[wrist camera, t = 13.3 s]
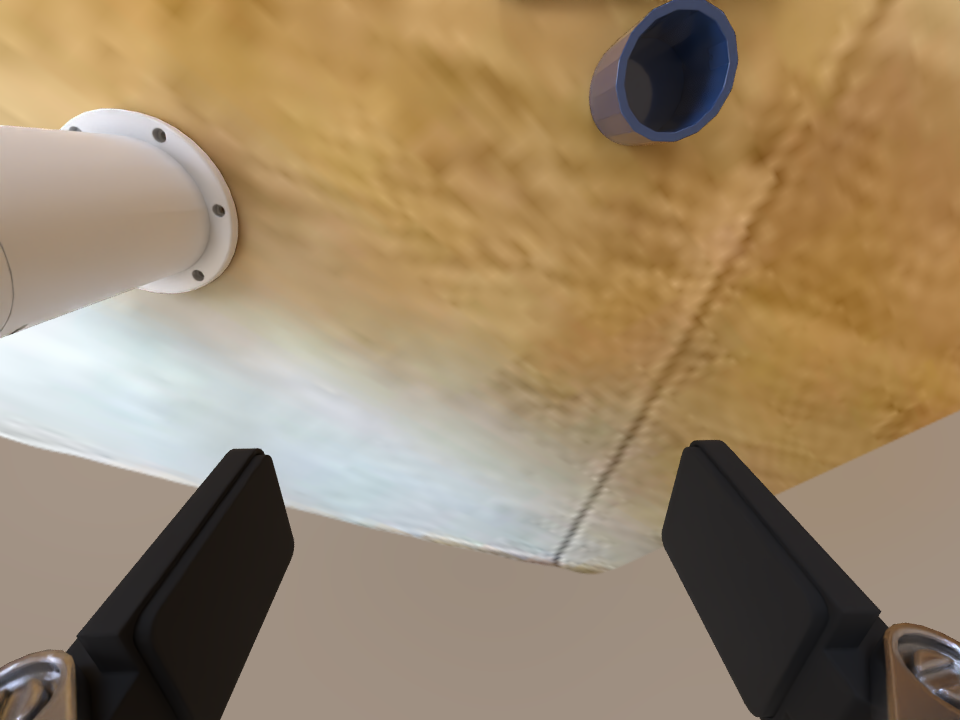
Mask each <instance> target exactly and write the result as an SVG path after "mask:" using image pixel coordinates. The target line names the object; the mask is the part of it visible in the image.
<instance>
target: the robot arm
mask: <svg viewBox="0 0 960 720" xmlns="http://www.w3.org/2000/svg"><path fill="white" fill-rule="evenodd" d="M165 134H166V137H165ZM222 207H223V208H224V210H225V213H224V212H223V210H222ZM237 240H238V219H237V213H236V208H235V204H234V201H233V198H232V195H231V193H230V190H229V187H228V186H227V184H226V182H225V180H224V178H223V176H222V175H221V173H220V171H219V170H218V168H217V167H216V166H215V164H214V163H213V162H212V160H211V159H210V158H209V156H208V155H207V154H206V153H205V152H204V151H203V150H202V149H201V148H200V147H199V146H198V145H197V144H196V143H195V142H194V141H193V140H192V139H190V138H189V137H188V136H186V135H185V134H184V133H182V132H181V131H179V130H178V129H177V128H175V127H173V126H171V125H170V124H168V123H166V122H164V121H162V120H160V119H158V118H155V117H152V116H149V115H146V114H143V113H140V112H135V111H129V110H123V109H97V110H92V111H88V112H84V113H82V114H80V115H78V116H76V117H74V118H72V119H70V120H69V121H68V122H67V123H66V124H65V125H64V126H63V127H62V128H61V129H60V130H54V129H42V128H30V127H18V126H7V125H0V338H2V337H5V336H8V335H10V334H13V333H16V332H19V331H21V330H24V329H27V328H29V327H32V326H35V325H37V324H40V323H43V322H46V321H48V320H51V319H54V318H56V317H59V316H62V315H65V314H67V313H70V312H73V311H75V310H78V309H81V308H84V307H86V306H89V305H92V304H94V303H97V302H100V301H102V300H105V299H108V298H111V297H113V296H116V295H119V294H121V293H124V292H127V291H130V290H132V289H135V288H138V289H142V290H145V291H149V292H153V293H163V294H176V293H185V292H189V291H192V290H195V289H198V288H200V287H202V286H205V285H207V284H209V283H210V282H212V281H213V280H215V279H216V278H217V277H219V276H220V275H221V274H222V273H223V271H224V270H225V269H226V268H227V267H228V265H229V263H230V261H231V259H232V257H233V255H234V253H235V249H236V245H237ZM662 542H663V545H664V548H665V550H666V552H667V554H668V556H669V558H670V560H671V562H672V563H673V565H674V567H675V569H676V571H677V573H678V575H679V577H680V579H681V581H682V582H683V585H684V587H685V589H686V591H687V593H688V594H689V596H690V598H691V600H692V602H693V604H694V606H695V608H696V610H697V612H698V613H699V616H700V618H701V620H702V621H703V624H704V625H705V627H706V629H707V631H708V633H709V635H710V637H711V639H712V641H713V643H714V645H715V647H716V649H717V651H718V652H719V655H720V656H721V658H722V660H723V662H724V664H725V666H726V668H727V670H728V672H729V674H730V676H731V678H732V680H733V681H734V684H735V685H736V687H737V689H738V691H739V693H740V695H741V697H742V699H743V701H744V703H745V704H746V706H747V708H748V710H749V711H750V712H751V713H752V714H753V715H754V716H756V717H760V719H761V720H960V642H958V641H956V640H954V639H953V638H951V637H949V636H947V635H945V634H943V633H941V632H938V631H935V630H933V629H930V628H927V627H925V626H922V625H916V624H910V623H901V624H893V625H892V626H891V627H888V626H887V625H886V624H885V623H884V622H883V621H882V620H881V619H880V618H879V617H878V616H879V614H880V613H881V611H880V610H879V609H878V608H877V606H875V604H874V603H873V602H872V601H871V600H870V599H869V598H868V597H867V596H866V595H865V594H864V592H862V590H861V589H860V588H859V587H858V586H857V585H856V584H855V583H854V582H853V581H852V579H851V578H849V576H848V575H847V574H846V573H845V572H844V571H843V570H842V569H841V568H840V567H839V565H838V564H837V563H836V562H835V561H834V560H833V559H832V558H831V557H830V556H829V555H828V554H827V552H826V551H825V550H824V549H823V548H822V547H821V546H820V545H819V544H818V543H817V542H816V541H815V540H814V538H813V537H812V536H811V535H810V534H809V533H808V532H807V531H806V530H805V529H804V528H803V527H802V526H801V525H800V523H799V522H798V521H797V520H796V519H795V518H794V517H793V516H792V515H791V514H790V513H789V511H788V510H787V509H786V508H785V507H784V506H783V505H782V504H781V503H780V502H779V501H778V500H777V499H776V497H775V496H774V495H773V494H772V493H771V492H770V491H769V490H768V489H767V488H766V487H765V486H764V485H763V483H762V482H761V481H760V480H759V479H758V478H757V477H756V476H755V475H754V474H753V473H752V472H751V470H750V469H749V468H748V467H747V466H746V465H745V464H744V463H743V462H742V461H741V460H740V459H739V458H738V456H737V455H736V454H735V453H734V452H733V451H732V450H731V449H730V448H729V447H728V446H727V445H726V444H725V443H724V442H723V441H720V440H696V441H693V442H692V443H691V444H690V446H689V447H686V448H685V449H684V450H683V452H682V456H681V460H680V464H679V468H678V471H677V475H676V479H675V483H674V487H673V491H672V494H671V498H670V502H669V506H668V510H667V514H666V517H665V521H664V525H663V529H662ZM293 551H294V539H293V535H292V531H291V528H290V524H289V520H288V517H287V513H286V509H285V505H284V502H283V498H282V494H281V491H280V487H279V483H278V479H277V476H276V472H275V468H274V464H273V461H272V458H271V457H270V455H265V454H264V452H263V451H262V450H261V449H258V448H257V449H232V450H230V451H229V452H228V453H227V454H226V455H225V456H224V458H223V459H222V460H221V461H220V462H219V464H218V465H217V466H216V467H215V468H214V470H213V471H212V472H211V473H210V475H209V476H208V477H207V478H206V479H205V481H204V482H203V483H202V484H201V485H200V487H199V488H198V489H197V490H196V492H195V493H194V494H193V495H192V496H191V498H190V499H189V500H188V501H187V503H186V504H185V505H184V506H183V507H182V509H181V510H180V511H179V512H178V514H177V515H176V516H175V517H174V518H173V519H172V521H171V522H170V523H169V524H168V526H167V527H166V528H165V529H164V530H163V532H162V533H161V534H160V535H159V536H158V538H157V539H156V540H155V541H154V542H153V544H152V545H151V546H150V547H149V549H148V550H147V551H146V552H145V554H144V555H143V556H142V557H141V558H140V560H139V561H138V562H137V563H136V564H135V566H134V567H133V568H132V569H131V570H130V572H129V573H128V574H127V575H126V576H125V578H124V579H123V580H122V581H121V582H120V584H119V585H118V586H117V587H116V589H115V590H114V591H113V592H112V593H111V595H110V596H109V597H108V598H107V600H106V601H105V602H104V603H103V604H102V606H101V607H100V608H99V609H98V611H97V612H96V613H95V614H94V615H93V616H92V618H91V619H90V620H89V621H88V623H87V624H86V625H85V626H84V627H83V629H82V630H81V631H80V632H79V633H78V635H77V639H76V641H75V642H74V643H73V644H72V645H71V647H70V648H69V649H68V650H67V652H64V651H62V650H44V651H40V652H35V653H31V654H28V655H26V656H24V657H21V658H19V659H16V660H14V661H12V662H9V663H8V664H6V665H4V666H3V667H1V668H0V720H220V719H221V716H222V714H223V712H224V710H225V708H226V705H227V703H228V701H229V699H230V696H231V694H232V692H233V689H234V687H235V685H236V683H237V680H238V678H239V676H240V673H241V671H242V669H243V667H244V664H245V662H246V660H247V658H248V656H249V653H250V651H251V649H252V647H253V644H254V642H255V640H256V637H257V635H258V633H259V630H260V628H261V626H262V624H263V622H264V619H265V617H266V615H267V612H268V610H269V608H270V606H271V603H272V601H273V599H274V597H275V594H276V592H277V590H278V588H279V585H280V583H281V581H282V578H283V576H284V574H285V572H286V570H287V567H288V565H289V563H290V561H291V558H292V555H293Z"/></svg>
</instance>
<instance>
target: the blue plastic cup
mask: <svg viewBox="0 0 960 720" xmlns="http://www.w3.org/2000/svg"><path fill="white" fill-rule="evenodd" d="M737 65H738V53H737V43H736V35H735V32H734V30H733V28H732V26H731V25H730V23H729V21H728V19H727V17H726V16H725V14H724V12H723V11H722V10H720V9H718V8H717V7H715V6H714V5H712V4H710V3H709V2H707V1H706V0H672V1H670V2H668V3H665V4H663V5H661V6H659V7H657V8H655V9H653V10H652V11H650V12H649V13H648V14H647V15H646V16H645V17H643V18H642V19H641V20H640V21H639V22H638V23H637V24H635V25H634V26H633V27H632V28H631V29H630V30H628V31H627V32H626V33H625V34H624V35H623V36H621V37H620V38H619V39H618V40H617V41H616V42H615V43H614V44H613V45H612V46H611V47H610V48H609V49H608V50H607V52H606V53H605V54H604V55H603V57H602V58H601V60H600V61H599V63H598V65H597V67H596V69H595V72H594V74H593V77H592V81H591V86H590V95H589V101H590V109H591V114H592V117H593V120H594V122H595V124H596V126H597V127H598V129H599V130H600V131H601V133H602V134H603V135H604V136H605V137H607V138H608V139H609V140H611V141H613V142H615V143H617V144H621V145H626V146H642V145H651V144H660V143H669V142H676V141H678V140H681V139H683V138H686V137H688V136H690V135H693V134H695V133H697V132H699V131H700V130H701V129H702V128H703V127H704V126H705V125H706V124H707V123H708V122H710V121H711V120H712V119H713V118H714V117H715V116H716V115H717V114H718V112H719V111H720V109H721V107H722V105H723V104H724V102H725V100H726V99H727V97H728V95H729V93H730V92H731V89H732V86H733V82H734V78H735V74H736V69H737Z"/></svg>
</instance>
